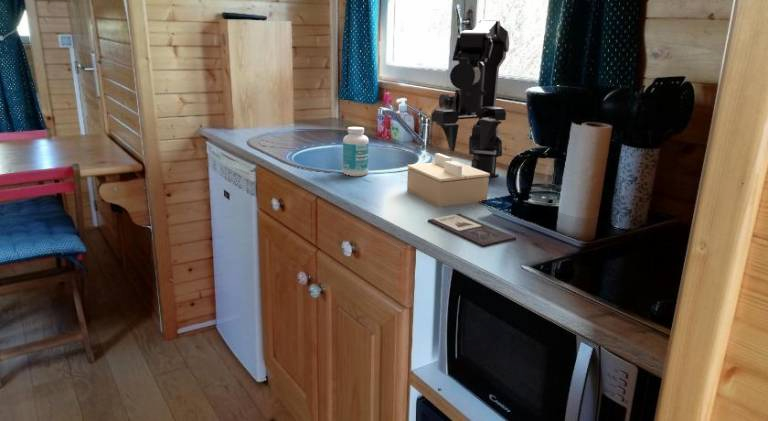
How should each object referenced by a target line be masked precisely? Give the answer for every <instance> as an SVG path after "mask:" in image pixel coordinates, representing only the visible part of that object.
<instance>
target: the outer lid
mask: <svg viewBox="0 0 768 421" xmlns="http://www.w3.org/2000/svg"><path fill="white" fill-rule="evenodd" d="M432 163H433V162H426V163H425V162H424V163H415V164H413V163H412V164H407V165H406V168H407V169H408V168H410V169H412V170H415V171H417V172H419V173H421V174H424V175H426V176H428V177H431V178H433V179H435V180H437V181H440V182H442V181H451V180H460V179H465V176H463V175H462V166H461V165H458V164H455V163H453V162H450V161H444V168H442V167H440V166H437V165H435V164H432Z"/></svg>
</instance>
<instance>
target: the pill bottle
mask: <svg viewBox="0 0 768 421" xmlns="http://www.w3.org/2000/svg"><path fill="white" fill-rule="evenodd" d="M347 133H348V134H346V135H345V136H344V137H343V139H342V173H343V174H344V175H345V174H346V176H348V175H350V177H364V176H366V175H368V174H369V150H370V148H369V146H370V142H369V137H368V136H367V135H366V134H365V135H364V133H365V127H363V126H361V127H360V126H349V127H347Z"/></svg>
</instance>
